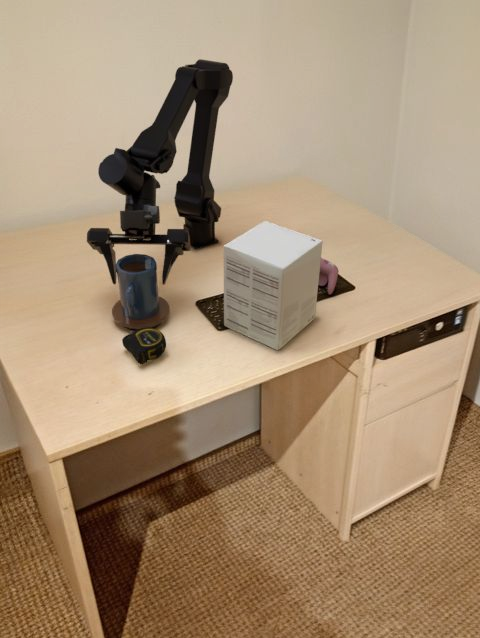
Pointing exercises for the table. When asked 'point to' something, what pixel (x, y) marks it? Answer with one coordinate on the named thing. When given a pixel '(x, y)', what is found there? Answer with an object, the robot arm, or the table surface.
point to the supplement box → (271, 283)
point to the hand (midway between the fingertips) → (138, 284)
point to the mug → (139, 293)
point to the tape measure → (145, 344)
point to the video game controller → (328, 275)
